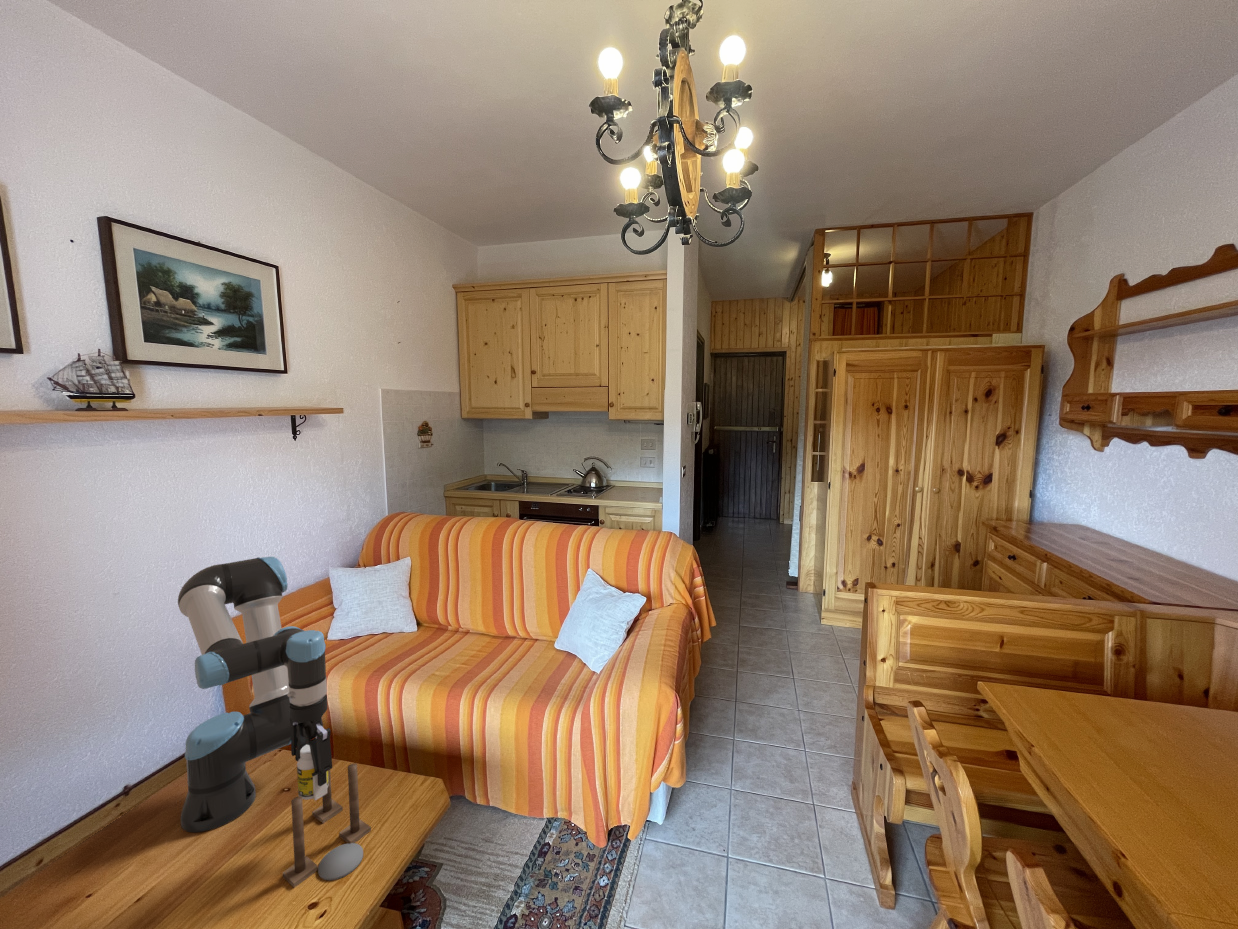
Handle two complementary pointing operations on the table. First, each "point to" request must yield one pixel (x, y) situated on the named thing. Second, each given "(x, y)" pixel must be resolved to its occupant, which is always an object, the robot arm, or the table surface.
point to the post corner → (354, 810)
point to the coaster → (340, 861)
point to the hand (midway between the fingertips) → (312, 790)
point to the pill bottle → (306, 774)
